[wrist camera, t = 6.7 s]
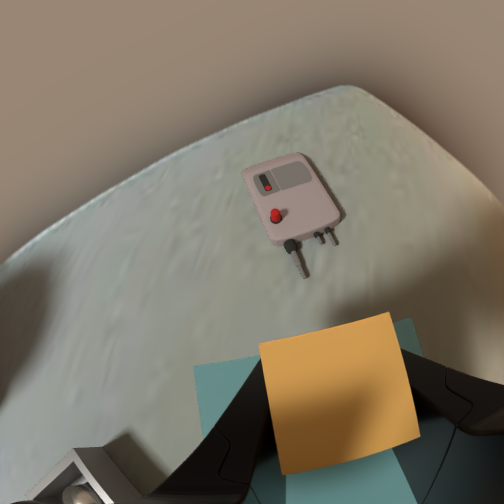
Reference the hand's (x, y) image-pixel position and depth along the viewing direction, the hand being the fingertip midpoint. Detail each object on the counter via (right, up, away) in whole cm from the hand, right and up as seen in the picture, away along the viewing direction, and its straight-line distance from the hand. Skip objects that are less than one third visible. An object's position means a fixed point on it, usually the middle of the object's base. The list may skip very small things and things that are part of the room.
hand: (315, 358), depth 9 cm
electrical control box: (+2, +7, +20) cm, 22 cm away
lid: (+2, -7, +2) cm, 7 cm away
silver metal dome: (-16, -19, +7) cm, 25 cm away
